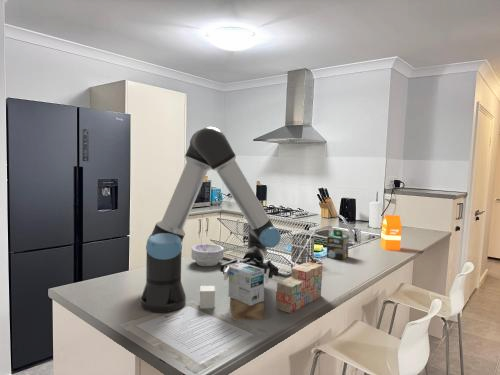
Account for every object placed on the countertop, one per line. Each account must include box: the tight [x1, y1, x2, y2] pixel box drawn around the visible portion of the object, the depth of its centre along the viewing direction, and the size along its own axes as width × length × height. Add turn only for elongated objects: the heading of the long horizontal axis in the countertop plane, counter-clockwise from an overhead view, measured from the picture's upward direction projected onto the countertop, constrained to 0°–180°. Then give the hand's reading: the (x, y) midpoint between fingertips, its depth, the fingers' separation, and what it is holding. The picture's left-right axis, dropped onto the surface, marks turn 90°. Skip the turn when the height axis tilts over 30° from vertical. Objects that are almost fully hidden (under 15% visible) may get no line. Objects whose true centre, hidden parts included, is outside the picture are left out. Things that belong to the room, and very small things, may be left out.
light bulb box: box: [228, 263, 265, 306], centre depth 118 cm, size 11×7×11 cm, turn 46°
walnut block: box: [229, 297, 265, 321], centre depth 119 cm, size 10×10×5 cm
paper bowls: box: [190, 243, 225, 267], centre depth 172 cm, size 15×15×8 cm
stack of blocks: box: [275, 261, 323, 314], centre depth 129 cm, size 21×6×12 cm, turn 141°
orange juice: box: [380, 214, 402, 251], centre depth 214 cm, size 8×9×20 cm
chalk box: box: [326, 229, 350, 261], centre depth 191 cm, size 9×9×15 cm
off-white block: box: [199, 285, 216, 309], centre depth 124 cm, size 5×5×6 cm
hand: (245, 277), depth 115 cm, fingers open, 13 cm apart
